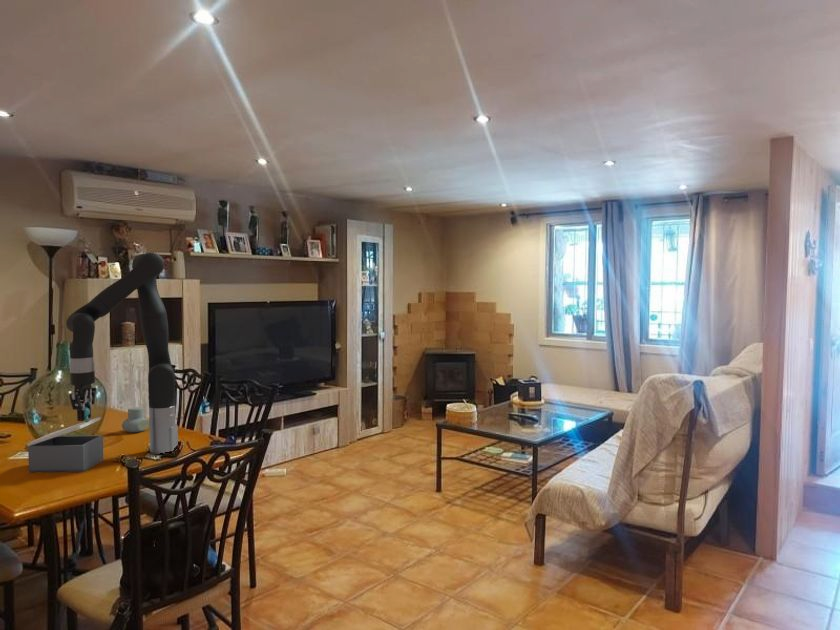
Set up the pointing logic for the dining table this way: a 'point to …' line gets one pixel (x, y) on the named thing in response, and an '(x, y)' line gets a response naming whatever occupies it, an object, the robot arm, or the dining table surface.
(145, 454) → the dining table surface
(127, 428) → the air freshener
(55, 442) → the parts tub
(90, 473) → the dining table surface
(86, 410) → the tub lid
